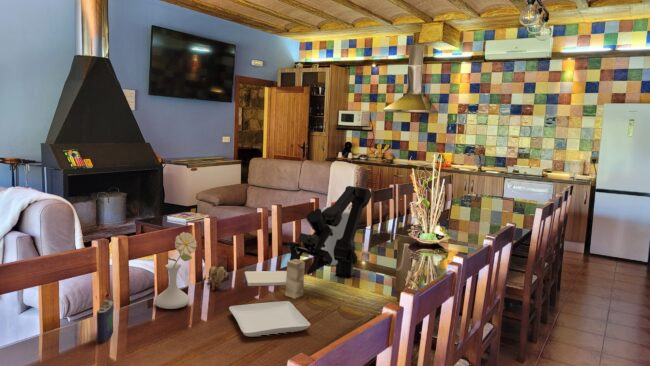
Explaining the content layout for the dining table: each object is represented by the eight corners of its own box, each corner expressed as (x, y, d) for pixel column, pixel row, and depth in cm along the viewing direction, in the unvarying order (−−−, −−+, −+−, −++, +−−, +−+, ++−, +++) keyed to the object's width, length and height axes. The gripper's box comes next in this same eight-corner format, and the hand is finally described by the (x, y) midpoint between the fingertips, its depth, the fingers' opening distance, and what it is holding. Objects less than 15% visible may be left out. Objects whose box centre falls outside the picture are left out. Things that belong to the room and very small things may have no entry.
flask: (105, 329, 141) (106, 294, 139) (116, 329, 141) (116, 294, 140) (95, 344, 132) (95, 306, 130) (106, 344, 132) (107, 306, 131)
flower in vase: (156, 314, 154) (158, 237, 151) (151, 301, 164) (153, 229, 161) (198, 309, 160) (200, 235, 157) (190, 297, 170) (193, 227, 167)
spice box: (293, 292, 182) (295, 258, 180) (302, 295, 179) (305, 261, 177) (285, 295, 178) (287, 261, 177) (294, 298, 175) (296, 264, 174)
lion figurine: (229, 291, 179) (230, 267, 177) (215, 293, 176) (216, 269, 174) (213, 279, 190) (214, 257, 189) (200, 280, 187) (201, 258, 186)
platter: (287, 273, 203) (287, 270, 203) (294, 284, 190) (294, 282, 190) (244, 274, 199) (244, 271, 199) (248, 285, 185) (248, 282, 185)
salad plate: (227, 315, 158) (227, 305, 157) (288, 309, 166) (289, 299, 166) (242, 343, 139) (243, 332, 138) (311, 335, 147) (312, 324, 147)
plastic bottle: (342, 256, 236) (347, 200, 232) (354, 265, 221) (359, 205, 218) (313, 257, 231) (317, 199, 227) (323, 266, 217) (327, 205, 213)
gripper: (292, 220, 187) (270, 253, 179) (330, 229, 175) (308, 264, 168) (303, 237, 194) (283, 269, 186) (341, 247, 182) (321, 282, 175)
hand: (298, 271), depth 179 cm, fingers open, 9 cm apart
